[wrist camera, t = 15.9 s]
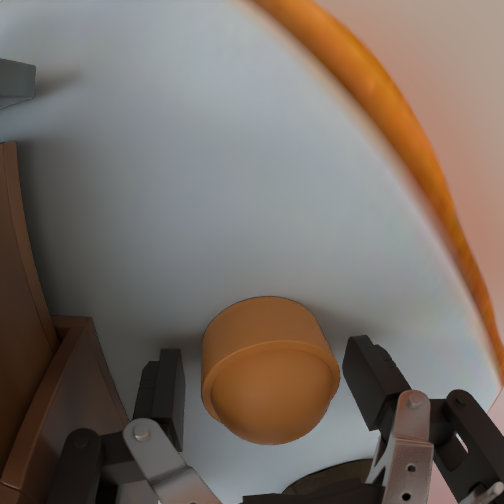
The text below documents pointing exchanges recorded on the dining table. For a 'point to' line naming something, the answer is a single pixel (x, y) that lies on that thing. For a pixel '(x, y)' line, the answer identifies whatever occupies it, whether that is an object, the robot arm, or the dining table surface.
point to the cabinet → (66, 416)
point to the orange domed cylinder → (267, 370)
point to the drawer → (18, 282)
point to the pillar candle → (331, 477)
